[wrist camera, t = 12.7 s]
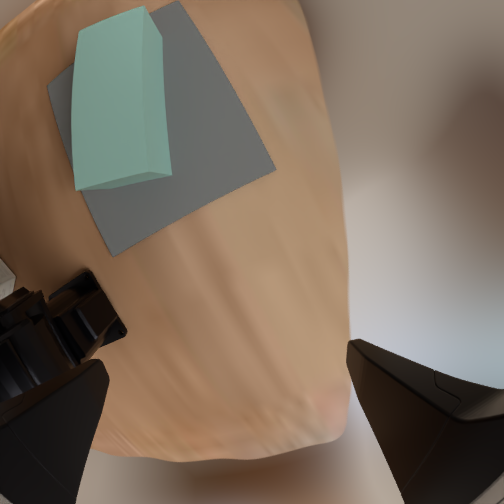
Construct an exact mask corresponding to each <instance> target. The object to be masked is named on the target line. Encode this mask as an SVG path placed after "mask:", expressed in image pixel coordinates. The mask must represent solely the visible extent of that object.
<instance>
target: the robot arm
mask: <svg viewBox="0 0 504 504" xmlns="http://www.w3.org/2000/svg"><path fill="white" fill-rule="evenodd" d="M87 275H88V276H89V278H87ZM43 297H44V295H43V293H42V290H39V291H37V292H35V293H34V291H28V290H27V289H26V288H25V287H22V288H20V289H18V290H16V291H15V292H13V293H11V294H9V295H8V296H6V297H4V298H3V299H1V300H0V504H75V503H76V497H77V494H78V490H79V486H80V482H81V478H82V475H83V471H84V467H85V463H86V460H87V457H88V454H89V450H90V447H91V444H92V441H93V438H94V435H95V432H96V429H97V426H98V423H99V420H100V417H101V414H102V410H103V406H104V402H105V398H106V394H107V390H108V386H109V381H110V380H109V375H108V373H107V371H106V368H105V366H104V364H103V362H102V361H101V360H100V359H90V358H91V357H92V356H93V354H94V353H95V352H96V351H97V349H98V348H100V347H102V346H105V345H107V344H109V343H112V342H114V341H116V340H119V339H121V338H123V337H125V336H126V334H127V329H126V327H125V326H124V324H123V323H122V321H121V320H120V318H119V317H118V315H117V313H116V311H115V310H114V308H113V307H112V305H111V303H110V302H109V300H108V298H107V297H106V295H105V293H104V292H103V290H102V289H101V287H100V285H99V284H98V282H97V280H96V278H95V277H94V275H93V273H92V272H91V271H89V270H87V271H85V272H84V273H82V274H81V275H79V276H78V277H76V278H75V279H73V280H72V281H70V282H69V283H67V284H66V285H64V286H63V287H61V288H60V289H59V290H57V291H56V292H54V293H53V294H51V295H50V296H49V302H47V303H46V302H45V300H44V298H43ZM120 330H122V331H123V333H122V332H121V331H120ZM89 359H90V360H89ZM346 363H347V367H348V370H349V373H350V376H351V379H352V382H353V385H354V388H355V391H356V394H357V397H358V400H359V402H360V405H361V407H362V409H363V411H364V413H365V415H366V417H367V419H368V421H369V424H370V425H371V428H372V430H373V432H374V434H375V436H376V439H377V441H378V443H379V445H380V447H381V449H382V452H383V454H384V456H385V459H386V461H387V463H388V465H389V468H390V470H391V472H392V474H393V477H394V479H395V481H396V484H397V486H398V488H399V491H400V492H401V496H402V498H403V500H404V503H405V504H504V389H496V388H491V387H488V386H484V385H480V384H476V383H472V382H468V381H465V380H461V379H458V378H455V377H452V376H449V375H447V374H444V373H441V372H439V371H436V370H435V371H434V370H433V369H431V368H428V367H426V366H424V365H421V364H419V363H416V362H413V361H411V360H409V359H406V358H404V357H401V356H399V355H397V354H394V353H392V352H390V351H387V350H385V349H383V348H380V347H378V346H375V345H373V344H371V343H369V342H366V341H364V340H362V339H355V340H350V341H349V342H348V345H347V357H346Z"/></svg>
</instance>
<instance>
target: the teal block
mask: <svg viewBox="0 0 504 504" xmlns="http://www.w3.org/2000/svg"><path fill="white" fill-rule="evenodd" d="M71 132H72V156H73V170H74V181H75V190H76V191H79V190H96V189H112V188H117V187H121V186H125V185H129V184H133V183H138V182H142V181H147V180H152V179H157V178H162V177H167V176H172V169H171V161H170V152H169V143H168V132H167V121H166V109H165V94H164V76H163V45H162V36H161V34H160V32H159V31H158V29H157V27H156V25H155V24H154V22H153V20H152V18H151V17H150V15H149V13H148V11H147V10H146V8H145V6H141V7H138V8H135V9H132V10H129V11H126V12H123V13H120V14H118V15H115V16H112V17H110V18H107V19H105V20H103V21H100V22H98V23H96V24H93V25H91V26H89V27H87V28H85V29H83V30H80V31H79V35H78V41H77V48H76V55H75V64H74V74H73V86H72V111H71Z"/></svg>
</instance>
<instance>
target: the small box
mask: <svg viewBox="0 0 504 504" xmlns="http://www.w3.org/2000/svg"><path fill="white" fill-rule="evenodd" d="M15 278H16V276H15V275H14V274H13V273H12V271H11V270H10V269H9V268H8V267H7V266H6V264H5V263H4V262H3V261H2V260H1V258H0V300H1V299H3V298H4V297H6V296H8V295H9V294H11V293H13V288H14V283H15Z"/></svg>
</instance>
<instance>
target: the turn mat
mask: <svg viewBox="0 0 504 504" xmlns="http://www.w3.org/2000/svg"><path fill="white" fill-rule="evenodd" d="M149 15H150V17H151V18H152V20H153V22H154V24H155V25H156V27H157V29H158V31H159V32H160V34H161V36H162V45H163V76H164V94H165V109H166V121H167V132H168V143H169V152H170V161H171V169H172V176H167V177H162V178H157V179H152V180H147V181H142V182H138V183H133V184H129V185H125V186H121V187H117V188H112V189H96V190H81V192H82V194H83V196H84V199H85V201H86V203H87V205H88V208H89V210H90V212H91V214H92V216H93V219H94V221H95V223H96V225H97V227H98V229H99V231H100V233H101V235H102V237H103V239H104V241H105V243H106V245H107V247H108V249H109V251H110V253H111V255H112V256H113V257H115V256H116V255H118V254H119V253H121V252H123V251H124V250H126V249H128V248H129V247H131V246H133V245H134V244H136V243H138V242H139V241H141V240H143V239H145V238H146V237H148V236H150V235H152V234H153V233H155V232H157V231H159V230H160V229H162V228H164V227H166V226H167V225H169V224H171V223H173V222H175V221H176V220H178V219H180V218H182V217H184V216H186V215H187V214H189V213H191V212H193V211H195V210H197V209H199V208H200V207H202V206H204V205H206V204H208V203H210V202H212V201H214V200H216V199H218V198H220V197H222V196H224V195H226V194H228V193H230V192H232V191H234V190H236V189H238V188H240V187H242V186H244V185H246V184H248V183H250V182H252V181H254V180H256V179H258V178H260V177H262V176H264V175H266V174H269V173H271V172H273V171H275V170H276V168H275V166H274V164H273V162H272V160H271V158H270V156H269V154H268V152H267V150H266V148H265V146H264V144H263V142H262V140H261V138H260V136H259V134H258V133H257V131H256V129H255V127H254V125H253V123H252V121H251V119H250V118H249V116H248V114H247V112H246V110H245V108H244V107H243V105H242V103H241V101H240V99H239V98H238V96H237V94H236V92H235V90H234V89H233V87H232V85H231V83H230V82H229V80H228V78H227V77H226V75H225V73H224V71H223V70H222V68H221V66H220V65H219V63H218V61H217V60H216V58H215V56H214V55H213V53H212V51H211V50H210V48H209V46H208V45H207V43H206V42H205V40H204V38H203V37H202V35H201V34H200V32H199V31H198V29H197V27H196V26H195V24H194V23H193V21H192V20H191V18H190V17H189V15H188V14H187V12H186V11H185V9H184V8H183V6H182V5H181V3H180V2H179V0H178V1H175V2H173V3H171V4H169V5H166V6H164V7H162V8H160V9H158V10H156V11H154V12H152V13H150V14H149ZM74 64H75V62H74V63H73V64H71V65H70V66H69V67H68V68H66V69H65V70H64V71H63V72H62V73H60V74H59V75H58V76H57V77H56V78H55V79H54V80H53V81H51V82H50V83H49V84H48V85H47V88H48V93H49V97H50V101H51V104H52V108H53V112H54V115H55V119H56V122H57V126H58V129H59V132H60V135H61V138H62V141H63V144H64V147H65V150H66V153H67V156H68V158H69V161H70V164H71V167H72V169H73V156H72V132H71V111H72V86H73V74H74ZM73 172H74V170H73Z"/></svg>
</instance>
